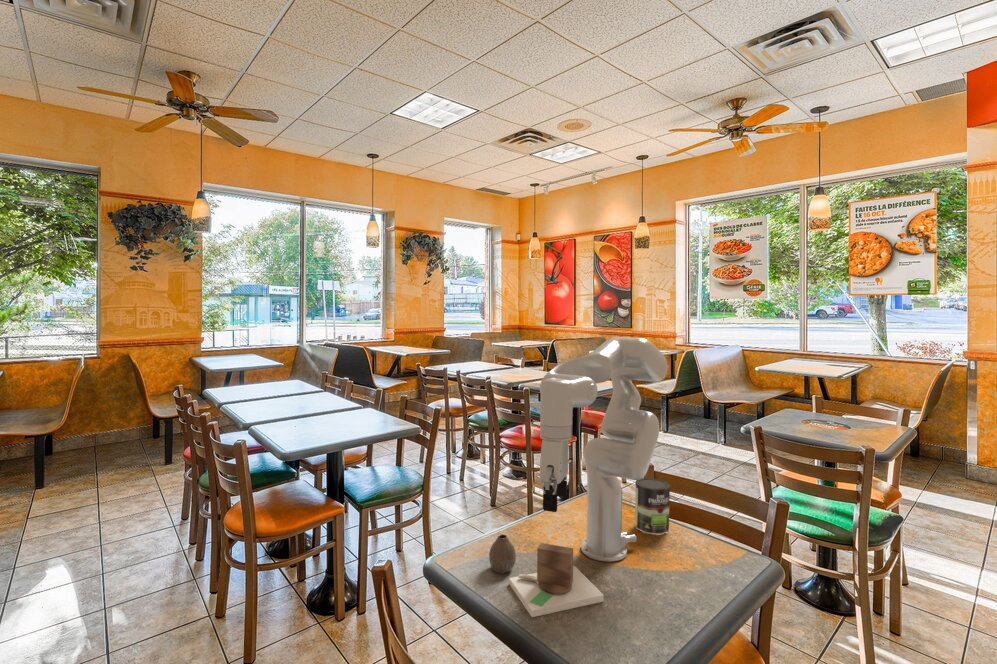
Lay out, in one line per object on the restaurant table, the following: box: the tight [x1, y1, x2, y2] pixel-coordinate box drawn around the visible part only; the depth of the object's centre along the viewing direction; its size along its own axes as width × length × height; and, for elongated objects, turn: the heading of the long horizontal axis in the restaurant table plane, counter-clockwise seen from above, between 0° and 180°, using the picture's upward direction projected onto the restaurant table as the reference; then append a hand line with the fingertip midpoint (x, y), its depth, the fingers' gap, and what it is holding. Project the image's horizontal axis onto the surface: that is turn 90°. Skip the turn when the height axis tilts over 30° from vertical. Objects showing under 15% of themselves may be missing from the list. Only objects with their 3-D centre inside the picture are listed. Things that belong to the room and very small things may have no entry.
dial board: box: [508, 565, 605, 618], centre depth 117 cm, size 18×14×2 cm
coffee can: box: [634, 477, 671, 535], centre depth 153 cm, size 10×10×14 cm
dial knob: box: [517, 542, 574, 594], centre depth 118 cm, size 13×8×9 cm, turn 70°
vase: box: [488, 534, 517, 574], centre depth 128 cm, size 7×7×9 cm
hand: (555, 503), depth 116 cm, fingers open, 9 cm apart
